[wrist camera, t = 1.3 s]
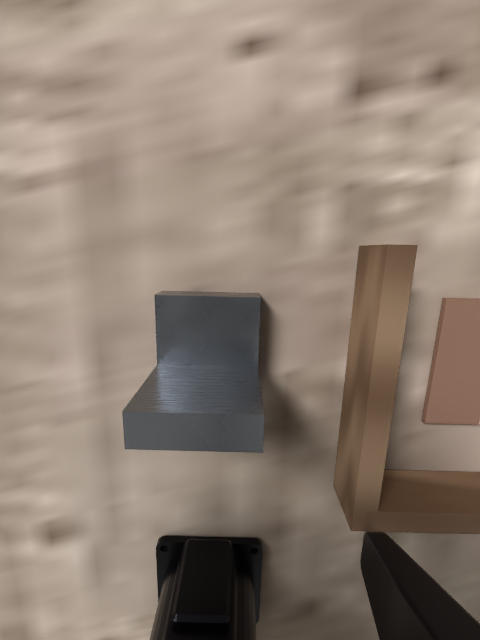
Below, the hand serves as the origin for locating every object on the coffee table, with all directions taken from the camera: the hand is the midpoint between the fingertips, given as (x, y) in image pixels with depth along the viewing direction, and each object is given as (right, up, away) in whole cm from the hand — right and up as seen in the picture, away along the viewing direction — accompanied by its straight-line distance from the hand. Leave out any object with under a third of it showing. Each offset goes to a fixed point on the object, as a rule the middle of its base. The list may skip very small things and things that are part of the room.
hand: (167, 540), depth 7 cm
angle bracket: (0, +4, +9) cm, 10 cm away
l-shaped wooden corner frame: (+15, +2, +10) cm, 18 cm away
